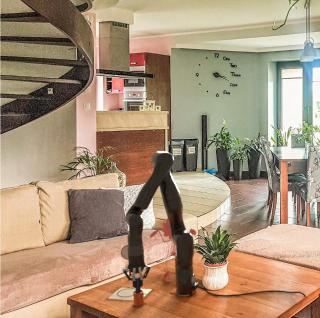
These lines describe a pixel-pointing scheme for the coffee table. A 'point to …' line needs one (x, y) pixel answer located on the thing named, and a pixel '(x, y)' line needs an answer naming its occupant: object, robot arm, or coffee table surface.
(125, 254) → the magnifying glass
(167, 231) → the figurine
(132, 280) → the robot arm
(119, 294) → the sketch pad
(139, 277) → the marker
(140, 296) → the pen cup
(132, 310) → the coffee table surface
